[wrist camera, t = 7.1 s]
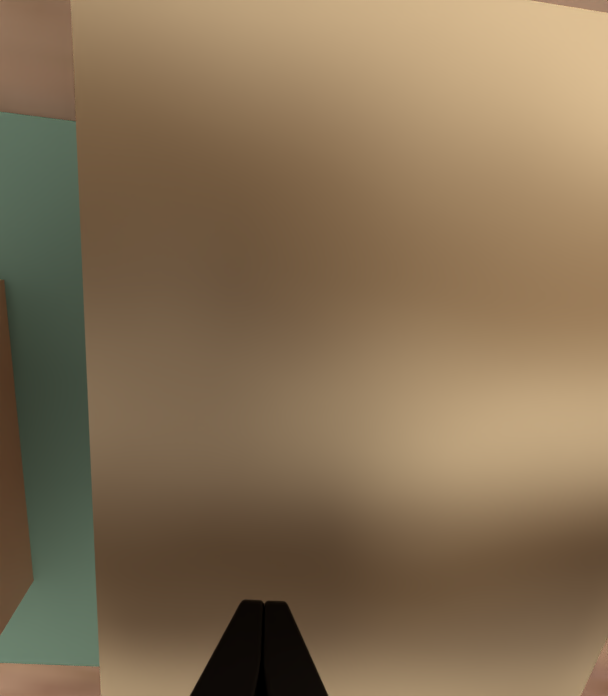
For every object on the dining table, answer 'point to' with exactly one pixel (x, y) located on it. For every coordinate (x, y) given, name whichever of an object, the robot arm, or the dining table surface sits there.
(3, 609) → the orange-brown flat block
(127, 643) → the deck
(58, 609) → the mat
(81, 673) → the dining table surface
